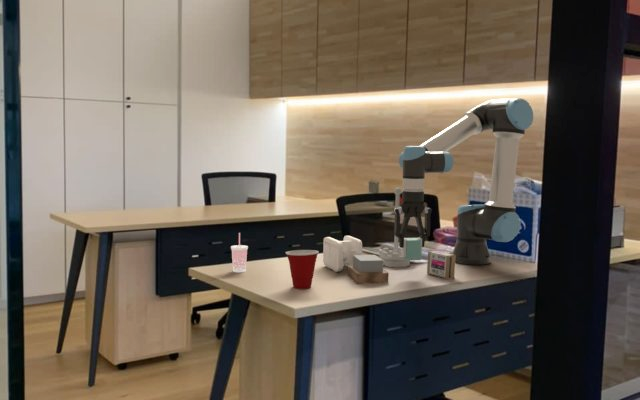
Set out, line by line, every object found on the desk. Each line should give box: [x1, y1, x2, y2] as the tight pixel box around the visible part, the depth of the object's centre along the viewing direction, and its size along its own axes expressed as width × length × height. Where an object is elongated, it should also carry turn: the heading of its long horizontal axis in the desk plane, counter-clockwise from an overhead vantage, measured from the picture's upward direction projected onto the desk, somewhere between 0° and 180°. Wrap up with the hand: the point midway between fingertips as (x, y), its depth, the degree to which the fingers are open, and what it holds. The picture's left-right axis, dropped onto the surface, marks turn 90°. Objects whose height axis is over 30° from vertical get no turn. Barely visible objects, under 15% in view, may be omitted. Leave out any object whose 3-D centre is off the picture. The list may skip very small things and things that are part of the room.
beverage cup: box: [230, 232, 249, 273], centre depth 221 cm, size 6×6×14 cm
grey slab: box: [353, 254, 384, 272], centre depth 213 cm, size 8×10×4 cm
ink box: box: [426, 250, 456, 280], centre depth 219 cm, size 10×4×8 cm, turn 37°
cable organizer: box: [322, 235, 363, 273], centre depth 228 cm, size 15×11×12 cm
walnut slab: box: [347, 266, 390, 285], centre depth 213 cm, size 11×13×4 cm
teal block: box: [402, 237, 422, 261], centre depth 215 cm, size 5×5×7 cm
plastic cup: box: [285, 249, 320, 290], centre depth 199 cm, size 11×11×12 cm
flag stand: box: [378, 187, 411, 268], centre depth 238 cm, size 13×13×30 cm
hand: (411, 256), depth 215 cm, fingers closed on teal block, 5 cm apart
